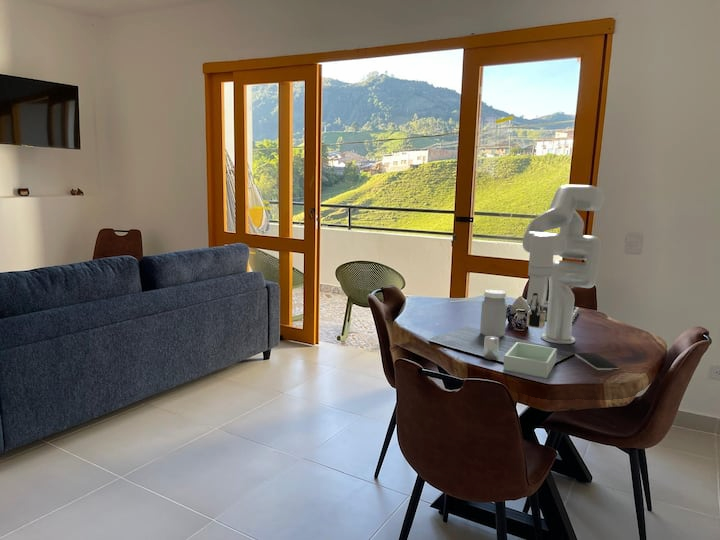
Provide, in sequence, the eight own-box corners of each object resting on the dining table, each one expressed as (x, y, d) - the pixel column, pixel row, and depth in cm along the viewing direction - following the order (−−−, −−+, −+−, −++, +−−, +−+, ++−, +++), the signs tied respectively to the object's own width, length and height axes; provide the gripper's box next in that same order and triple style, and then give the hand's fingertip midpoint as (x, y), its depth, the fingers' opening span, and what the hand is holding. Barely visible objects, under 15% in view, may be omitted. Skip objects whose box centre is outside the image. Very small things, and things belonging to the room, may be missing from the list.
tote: (515, 355, 187) (516, 341, 186) (555, 362, 180) (556, 348, 180) (503, 370, 172) (504, 355, 171) (546, 378, 165) (547, 363, 164)
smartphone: (597, 368, 174) (574, 353, 189) (596, 371, 174) (574, 356, 189) (619, 367, 175) (595, 352, 189) (619, 371, 175) (595, 356, 190)
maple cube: (529, 323, 180) (530, 309, 180) (544, 325, 178) (545, 311, 177) (526, 326, 176) (527, 311, 175) (541, 328, 174) (543, 314, 173)
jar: (505, 339, 206) (508, 294, 203) (480, 337, 208) (483, 293, 205) (503, 332, 216) (507, 289, 213) (479, 330, 218) (482, 288, 215)
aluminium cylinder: (485, 353, 188) (486, 335, 187) (499, 356, 185) (500, 337, 184) (481, 357, 183) (482, 338, 182) (495, 360, 181) (497, 341, 180)
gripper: (533, 267, 183) (529, 317, 186) (523, 273, 169) (518, 328, 171) (556, 269, 180) (551, 320, 183) (547, 276, 165) (542, 331, 168)
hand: (535, 323), depth 177 cm, fingers closed on maple cube, 4 cm apart
